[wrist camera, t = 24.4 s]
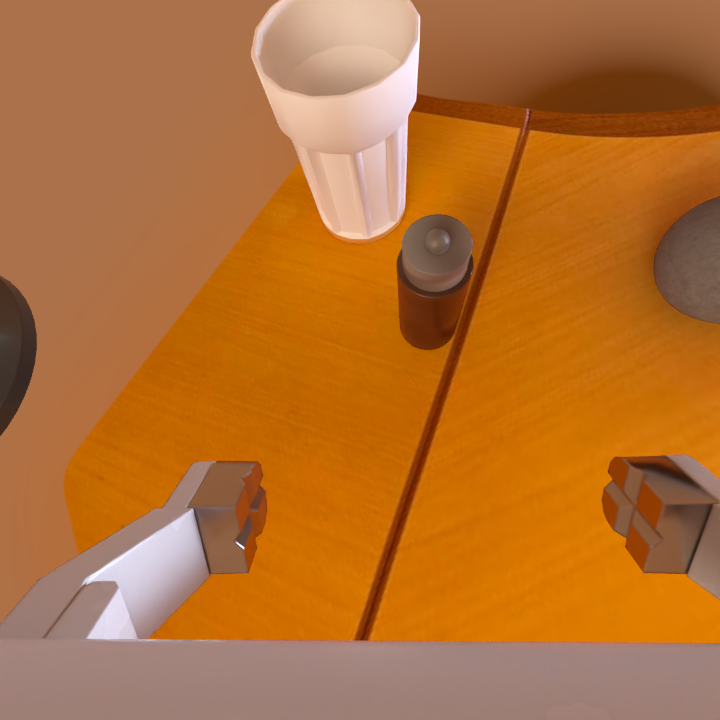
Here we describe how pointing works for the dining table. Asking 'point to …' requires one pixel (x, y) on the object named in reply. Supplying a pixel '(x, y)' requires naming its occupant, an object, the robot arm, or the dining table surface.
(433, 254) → the pepper mill
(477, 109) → the dining table surface
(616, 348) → the dining table surface
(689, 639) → the dining table surface
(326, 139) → the cup
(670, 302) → the decorative ball
